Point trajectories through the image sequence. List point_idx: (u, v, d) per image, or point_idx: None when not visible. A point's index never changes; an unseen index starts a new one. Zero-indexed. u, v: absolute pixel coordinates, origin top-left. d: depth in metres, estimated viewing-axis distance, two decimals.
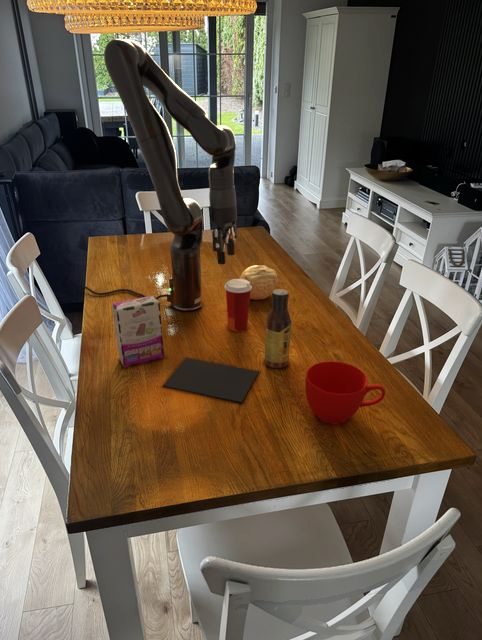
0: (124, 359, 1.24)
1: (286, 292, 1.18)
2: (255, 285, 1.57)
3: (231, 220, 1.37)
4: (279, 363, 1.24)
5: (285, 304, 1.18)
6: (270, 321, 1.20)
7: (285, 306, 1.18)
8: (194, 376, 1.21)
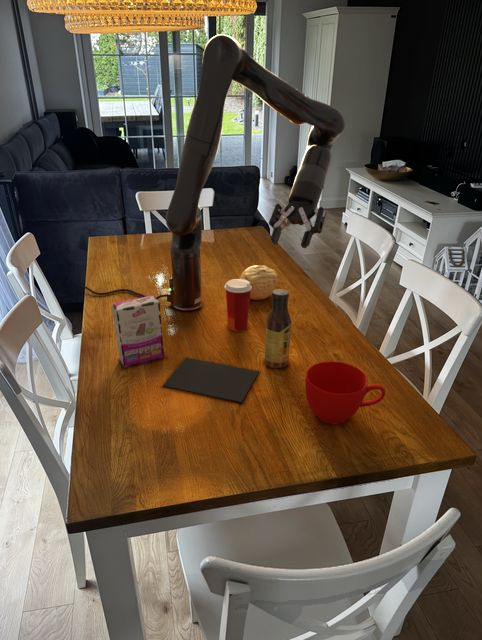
0: (124, 359, 1.24)
1: (286, 292, 1.18)
2: (255, 285, 1.57)
3: None
4: (279, 363, 1.24)
5: (285, 304, 1.18)
6: (270, 321, 1.20)
7: (285, 306, 1.18)
8: (194, 376, 1.21)
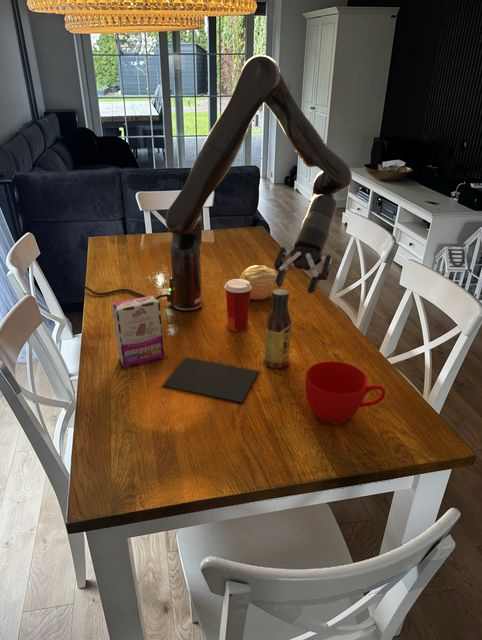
0: (124, 359, 1.24)
1: (286, 292, 1.18)
2: (255, 285, 1.57)
3: None
4: (279, 363, 1.24)
5: (285, 304, 1.18)
6: (270, 321, 1.20)
7: (285, 306, 1.18)
8: (194, 376, 1.21)
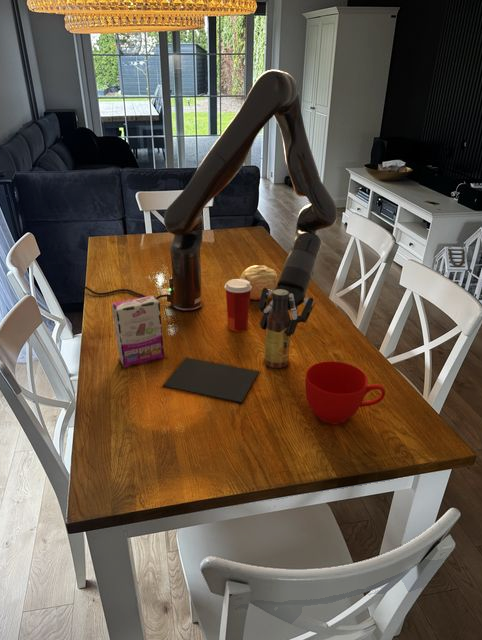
0: (124, 359, 1.24)
1: (286, 292, 1.18)
2: (255, 285, 1.57)
3: None
4: (279, 363, 1.24)
5: (285, 304, 1.18)
6: (270, 321, 1.20)
7: (285, 306, 1.18)
8: (194, 376, 1.21)
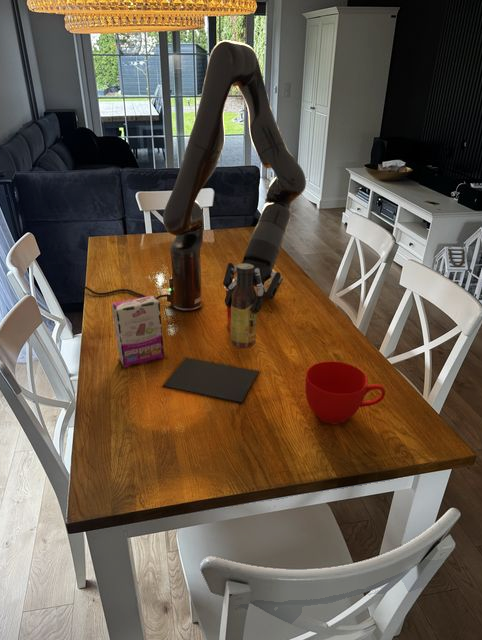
0: (124, 359, 1.24)
1: (251, 266, 1.10)
2: None
3: None
4: (245, 343, 1.16)
5: (250, 279, 1.10)
6: (234, 298, 1.12)
7: (249, 281, 1.10)
8: (194, 376, 1.21)
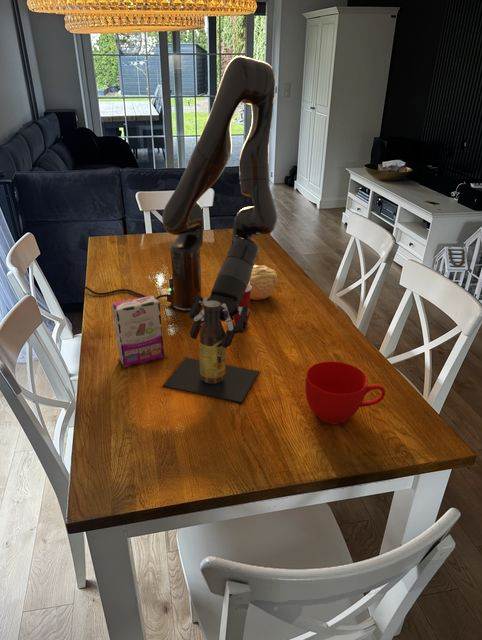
0: (124, 359, 1.24)
1: (218, 304, 1.11)
2: (255, 285, 1.57)
3: None
4: (214, 378, 1.17)
5: (217, 316, 1.11)
6: (202, 335, 1.13)
7: (216, 318, 1.11)
8: (194, 376, 1.21)
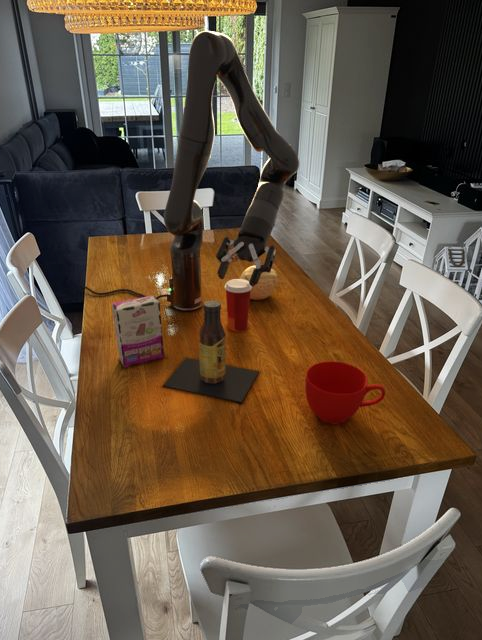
0: (124, 359, 1.24)
1: (218, 304, 1.11)
2: (255, 285, 1.57)
3: None
4: (214, 378, 1.17)
5: (217, 316, 1.11)
6: (202, 335, 1.13)
7: (216, 318, 1.11)
8: (194, 376, 1.21)
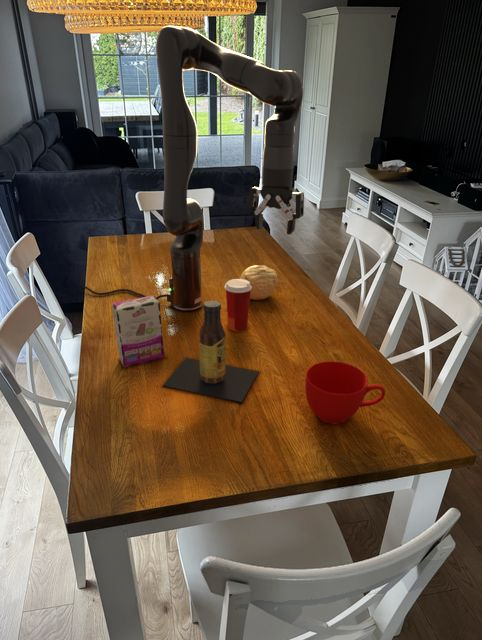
0: (124, 359, 1.24)
1: (218, 304, 1.11)
2: (255, 285, 1.57)
3: None
4: (214, 378, 1.17)
5: (217, 316, 1.11)
6: (202, 335, 1.13)
7: (216, 318, 1.11)
8: (194, 376, 1.21)
